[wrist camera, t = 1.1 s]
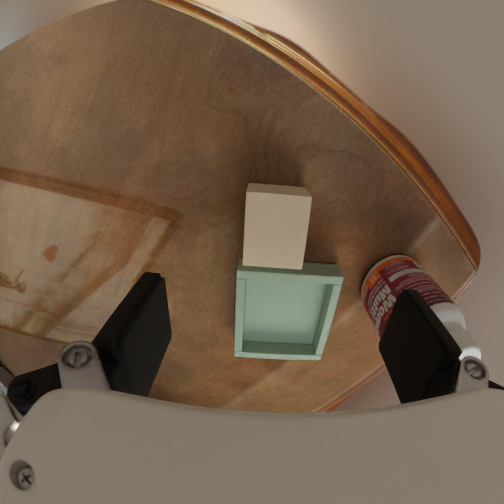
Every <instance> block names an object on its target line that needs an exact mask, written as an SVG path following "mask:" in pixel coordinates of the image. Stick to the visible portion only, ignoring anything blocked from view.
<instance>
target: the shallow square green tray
mask: <svg viewBox="0 0 504 504" xmlns="http://www.w3.org/2000/svg"><path fill="white" fill-rule="evenodd" d="M242 264H243V258H239V261H238V266H237V272H236V277H237V278H236V302H235V336H234V356H238V357H250V358H266V359H290V360H320V359H321V356H322V353H323V350H324V347H325V344H326V340H327V337H328V334H329V330H330V327H331V324H332V320H333V317H334V313H335V309H336V306H337V302H338V298H339V294H340V290H341V287H342V283H343V278H344V277H343V275H342V273H341V270H340V268H339V266H338V265H337V264H324V263H309V262H303V266H302V270H300V269H285V268H271V267H256V266H243V265H242Z"/></svg>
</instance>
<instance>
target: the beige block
mask: <svg viewBox="0 0 504 504" xmlns="http://www.w3.org/2000/svg"><path fill="white" fill-rule="evenodd" d="M311 202H312V196H311V195H310V194H309V192H308V191H307V189H306V188H305V187H296V186H285V185H272V184H259V183H249V185H248V188H247V191H246V205H245V224H244V244H243V264H242V265H243V266H256V267H271V268H285V269H300V270H302V266H303V260H304V253H305V246H306V240H307V232H308V225H309V218H310V210H311Z"/></svg>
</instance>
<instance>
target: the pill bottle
mask: <svg viewBox="0 0 504 504" xmlns="http://www.w3.org/2000/svg"><path fill="white" fill-rule="evenodd" d="M404 289H414V290H417V291H418V292H419V294H420V295H421V296H422V297H423V299H424V300H425V301H426V302H427V304H428V305H429V306H430V307H431V309H432V310H433V311H434V313H435V314H436V315H437V317H438V318H439V319H440V321H441V322H442V323H443V325H444V326H445V327H446V329H447V330H448V331H449V333H450V334H451V336H452V337H453V338H454V340H455V341H456V343H457V344H458V346H459V347H460V349H461V350H462V351H463V352H462V354H461V355H460V357H459V359H460V361H461V360H462V359H463V358H464V357H466V356H473V357H476V358H478V359H481V351H480V348H479V347H478V346H477V344H476V343H475V341H474V340H473V338H472V337H471V335H470V334H469V333H468V332H467V331H465V328H466V326H465V319H464V316H463V314H462V312H461V311H460V310H459V308H458V307H457V306H456V304H455V303H454V302H453V301H452V300H451V299H450V297H449V296H448V295H447V294H446V293H445V292H444V291H443V290H442V289H441V287H440V286H439V285H438V284H437V283H436V282H435V281H434V280H433V279H432V278H431V276H430V275H429V274H428V273H427V272H426V271H425V270H424V269H423V268H422V267H421V266H420V265H419V264H418V263H417V262H416V261H415V260H414V259H412V258H410V257H408V256H404V255H394V256H390V257H387V258H385V259H383V260H381V261H379V262H378V263H377V264H375V265H374V266H373V267H372V268H371V270H370V271H369V272H368V274H367V275H366V277H365V279H364V281H363V284H362V289H361V297H362V302H363V304H364V306H365V308H366V310H367V313H368V315H369V316H370V319H371V321H372V323H373V325H374V327H375V329H376V331H377V333H378V335H379V338H380V340H381V337H382V335H383V332H384V330H385V328H386V325H387V323H388V320H389V317H390V315H391V312H392V309H393V307H394V304H395V301H396V298H397V296H398V294H399V293H401V292H402V290H404Z"/></svg>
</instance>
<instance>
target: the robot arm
mask: <svg viewBox="0 0 504 504" xmlns="http://www.w3.org/2000/svg"><path fill="white" fill-rule="evenodd" d="M171 335H172V331H171V324H170V317H169V310H168V302H167V294H166V285H165V279H164V278H163V277H161V276H160V274H159V273H151V272H145V273H144V274H143V275H142V276H141V278H140V279H139V280H138V281H137V283H136V284H135V285H134V286H133V288H132V289H131V290H130V292H129V293H128V294H127V296H126V297H125V298H124V299H123V301H122V302H121V303H120V304H119V306H118V307H117V308H116V310H115V311H114V312H113V314H112V315H111V316H110V318H109V319H108V320H107V322H106V323H105V325H104V326H103V327H102V329H101V330H100V332H99V333H98V334H97V336H96V337H95V339H94V340H93V342H92V343H90V342H87V341H74V342H71V343H69V344H67V345H66V346H64V347H63V348H62V349H61V351H60V352H59V355H58V363H56V364H53V365H50V366H47V367H44V368H41V369H38V370H35V371H31V372H28V373H25V374H22V375H19V376H17V377H15V378H14V379H13V380H12V381H11V382H10V384H9V386H8V389H7V394H6V395H4V393H3V392H2V393H1V394H0V504H504V387H502V386H500V385H498V384H496V383H494V382H492V381H490V380H489V373H488V369H487V367H486V365H485V364H484V363H483V362H482V361H481V360H480V359H478V358H476V357H473V356H466V357H464V358H463V359H462V360H461V361H460V359H459V357H460V355H461V354H462V352H463V351H462V350H461V349H460V347H459V346H458V344H457V343H456V341H455V340H454V338H453V337H452V336H451V334H450V333H449V331H448V330H447V329H446V327H445V326H444V325H443V323H442V322H441V321H440V319H439V318H438V317H437V315H436V314H435V313H434V311H433V310H432V309H431V307H430V306H429V305H428V304H427V302H426V301H425V300H424V299H423V297H422V296H421V295H420V294H419V292H418V291H417V290H414V289H404V290H402V292H401V293H399V294H398V296H397V298H396V301H395V304H394V307H393V309H392V312H391V315H390V317H389V320H388V323H387V325H386V328H385V330H384V332H383V335H382V337H381V340H380V342H379V351H380V353H381V355H382V358H383V360H384V362H385V365H386V367H387V369H388V372H389V374H390V377H391V379H392V382H393V384H394V387H395V389H396V392H397V394H398V397H399V400H400V402H401V404H398V405H392V406H385V407H377V408H369V409H360V410H350V411H336V412H314V413H273V412H251V411H237V410H226V409H217V408H208V407H201V406H194V405H187V404H181V403H175V402H169V401H163V400H158V399H153V398H148V395H149V392H150V389H151V387H152V384H153V382H154V379H155V377H156V374H157V372H158V369H159V367H160V364H161V362H162V359H163V357H164V354H165V352H166V350H167V347H168V345H169V342H170V340H171Z"/></svg>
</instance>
